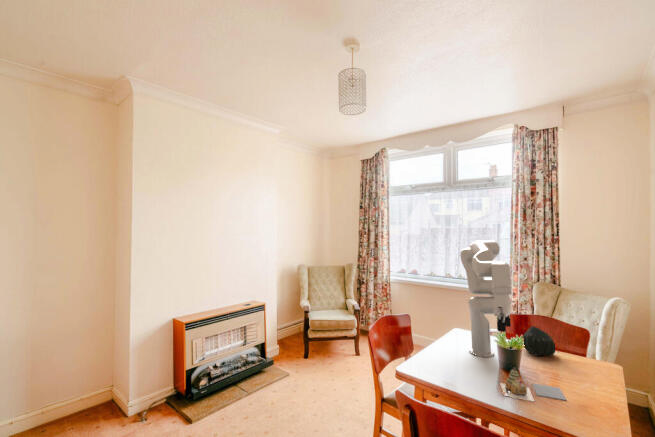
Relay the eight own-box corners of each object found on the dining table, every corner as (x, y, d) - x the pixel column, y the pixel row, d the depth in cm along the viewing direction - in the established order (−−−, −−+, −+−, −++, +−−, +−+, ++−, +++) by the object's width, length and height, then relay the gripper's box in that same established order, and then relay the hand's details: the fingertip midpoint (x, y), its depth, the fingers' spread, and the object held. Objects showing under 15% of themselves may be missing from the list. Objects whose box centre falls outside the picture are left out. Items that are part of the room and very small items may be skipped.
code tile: (500, 383, 136) (500, 382, 136) (528, 388, 131) (528, 387, 131) (503, 396, 126) (503, 395, 126) (534, 401, 121) (534, 401, 121)
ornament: (530, 395, 125) (529, 371, 125) (517, 397, 124) (516, 373, 125) (515, 385, 133) (514, 363, 133) (503, 387, 132) (502, 364, 132)
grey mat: (532, 384, 135) (532, 383, 135) (559, 388, 130) (559, 387, 130) (537, 395, 125) (537, 394, 125) (566, 400, 121) (566, 399, 121)
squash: (559, 352, 154) (552, 324, 164) (525, 349, 161) (520, 322, 170) (555, 362, 163) (549, 335, 173) (523, 359, 170) (519, 333, 179)
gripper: (497, 287, 144) (499, 323, 143) (487, 292, 131) (490, 331, 130) (515, 288, 139) (517, 325, 138) (507, 293, 126) (509, 335, 125)
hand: (504, 328), depth 134 cm, fingers open, 9 cm apart
